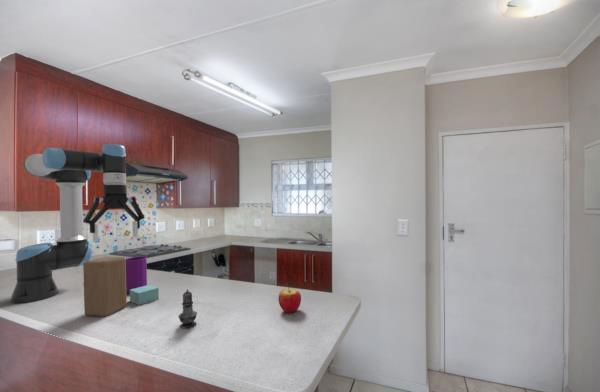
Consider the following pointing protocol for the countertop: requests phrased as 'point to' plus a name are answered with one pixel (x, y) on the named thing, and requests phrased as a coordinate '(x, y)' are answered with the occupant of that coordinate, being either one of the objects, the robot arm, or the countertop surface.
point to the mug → (136, 273)
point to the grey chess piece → (187, 312)
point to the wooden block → (104, 285)
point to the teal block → (144, 294)
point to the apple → (289, 299)
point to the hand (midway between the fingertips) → (116, 239)
